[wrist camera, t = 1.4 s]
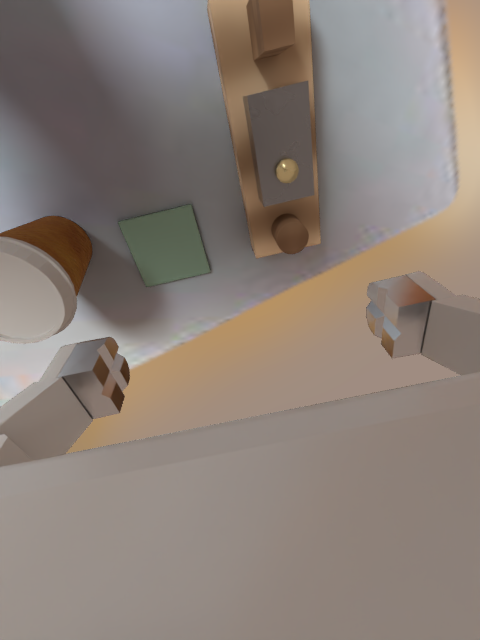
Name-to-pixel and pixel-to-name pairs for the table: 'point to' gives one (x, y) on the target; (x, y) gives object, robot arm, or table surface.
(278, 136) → the lever cap
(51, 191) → the table surface
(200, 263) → the felt pad
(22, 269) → the disposable coffee cup
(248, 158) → the plane body
